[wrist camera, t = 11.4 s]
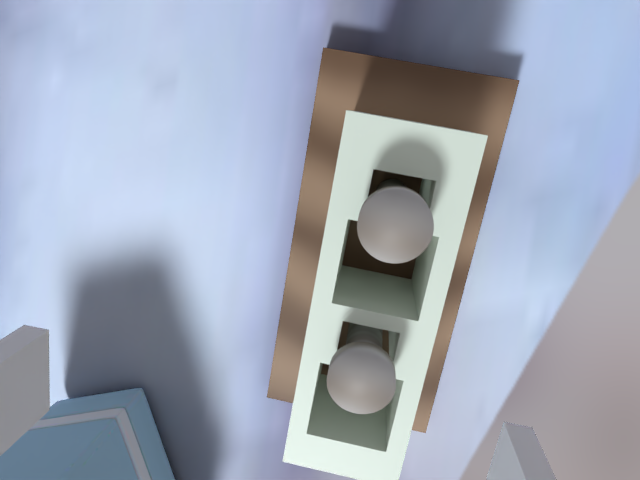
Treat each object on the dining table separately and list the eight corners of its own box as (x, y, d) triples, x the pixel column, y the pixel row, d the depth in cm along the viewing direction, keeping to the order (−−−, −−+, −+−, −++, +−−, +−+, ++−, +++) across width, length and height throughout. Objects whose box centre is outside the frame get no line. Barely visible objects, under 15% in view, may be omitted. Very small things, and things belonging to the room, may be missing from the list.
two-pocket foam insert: (354, 110, 31) (346, 110, 24) (465, 130, 31) (487, 135, 24) (301, 397, 37) (282, 461, 30) (393, 418, 36) (396, 488, 29)
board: (325, 50, 32) (298, 20, 22) (512, 81, 31) (577, 66, 21) (271, 386, 38) (230, 486, 28) (423, 420, 38) (439, 536, 27)
